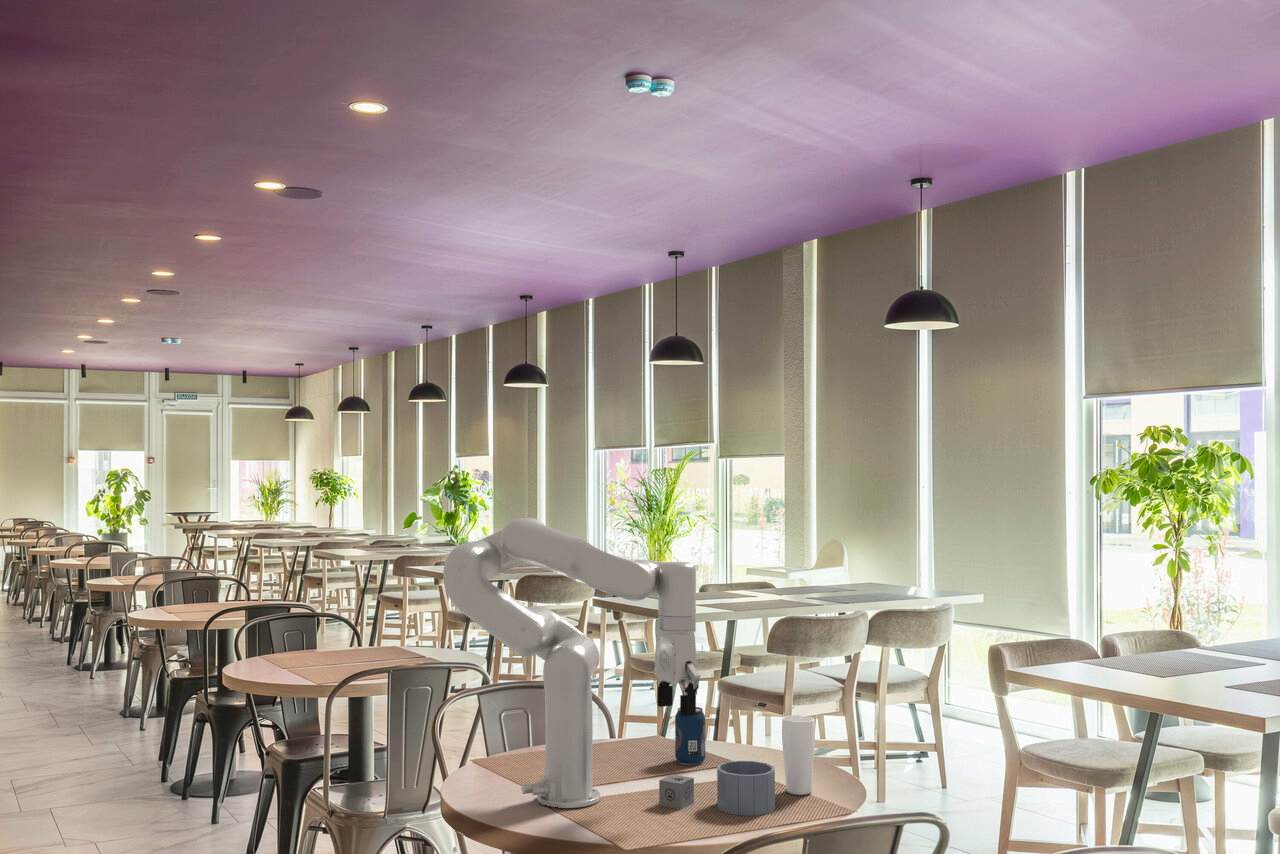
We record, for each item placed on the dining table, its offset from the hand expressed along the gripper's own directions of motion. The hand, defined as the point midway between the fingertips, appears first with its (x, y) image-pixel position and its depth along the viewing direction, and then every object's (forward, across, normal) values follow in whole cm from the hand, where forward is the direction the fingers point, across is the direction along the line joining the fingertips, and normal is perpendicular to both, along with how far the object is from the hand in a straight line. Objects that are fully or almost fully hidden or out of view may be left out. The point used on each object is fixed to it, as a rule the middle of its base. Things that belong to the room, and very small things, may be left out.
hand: (676, 710), depth 210 cm
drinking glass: (+18, +4, +27) cm, 33 cm away
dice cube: (+19, 0, 0) cm, 19 cm away
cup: (+18, +8, +12) cm, 23 cm away
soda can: (+18, -27, +18) cm, 38 cm away
